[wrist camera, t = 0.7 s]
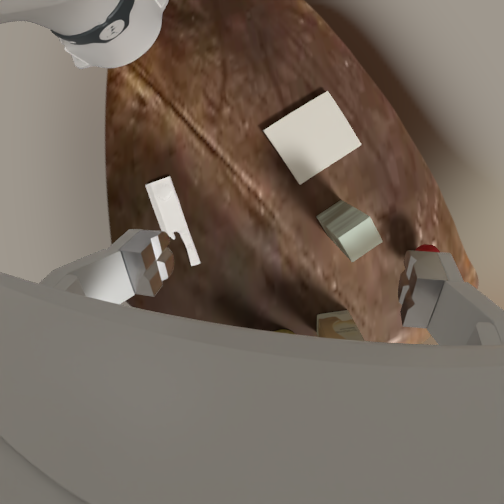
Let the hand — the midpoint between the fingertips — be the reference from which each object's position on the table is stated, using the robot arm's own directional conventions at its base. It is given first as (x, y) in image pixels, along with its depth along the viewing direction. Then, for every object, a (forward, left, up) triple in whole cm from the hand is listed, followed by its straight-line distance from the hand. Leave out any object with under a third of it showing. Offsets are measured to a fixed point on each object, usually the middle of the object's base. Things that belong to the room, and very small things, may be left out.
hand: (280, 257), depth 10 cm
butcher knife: (0, -15, -39) cm, 42 cm away
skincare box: (+32, -3, -39) cm, 50 cm away
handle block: (+15, +7, -39) cm, 42 cm away
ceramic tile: (+2, +11, -38) cm, 40 cm away
